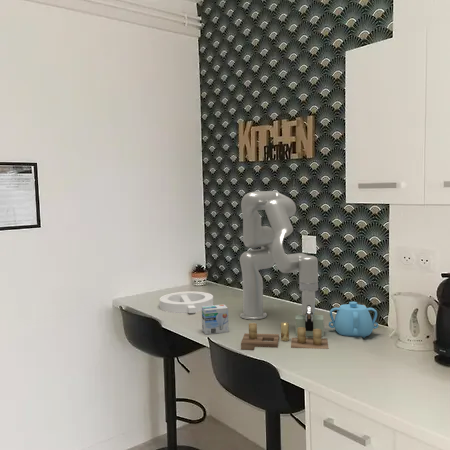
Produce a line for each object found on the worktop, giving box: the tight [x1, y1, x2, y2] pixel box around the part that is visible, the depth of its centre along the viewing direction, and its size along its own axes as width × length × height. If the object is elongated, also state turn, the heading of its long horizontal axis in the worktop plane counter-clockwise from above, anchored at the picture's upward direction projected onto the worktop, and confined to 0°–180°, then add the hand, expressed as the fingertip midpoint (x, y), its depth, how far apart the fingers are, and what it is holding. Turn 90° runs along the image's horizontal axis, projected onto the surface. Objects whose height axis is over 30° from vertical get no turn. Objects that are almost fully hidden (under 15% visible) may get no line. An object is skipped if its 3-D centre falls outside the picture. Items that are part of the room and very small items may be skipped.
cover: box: [294, 314, 325, 337], centre depth 201 cm, size 7×11×8 cm, turn 80°
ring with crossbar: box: [159, 290, 214, 314], centre depth 257 cm, size 28×28×5 cm
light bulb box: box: [201, 304, 230, 335], centre depth 212 cm, size 11×7×11 cm, turn 105°
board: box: [290, 327, 330, 350], centre depth 190 cm, size 12×14×7 cm
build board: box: [240, 322, 280, 351], centre depth 193 cm, size 12×14×8 cm
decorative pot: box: [328, 301, 379, 339], centre depth 202 cm, size 16×16×14 cm
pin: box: [280, 321, 290, 342], centre depth 194 cm, size 3×3×8 cm
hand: (309, 327), depth 201 cm, fingers open, 9 cm apart
